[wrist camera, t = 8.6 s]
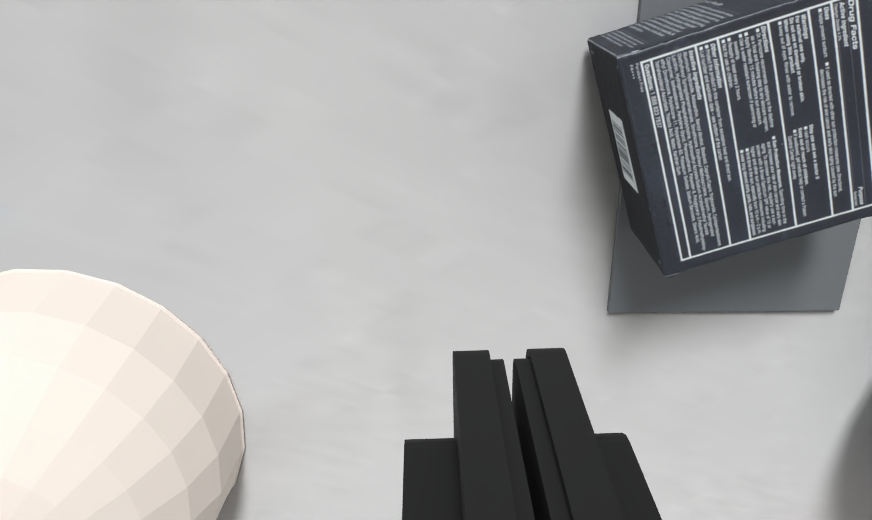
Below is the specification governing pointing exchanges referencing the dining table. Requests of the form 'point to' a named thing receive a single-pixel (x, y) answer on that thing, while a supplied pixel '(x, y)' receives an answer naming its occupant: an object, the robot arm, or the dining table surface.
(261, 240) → the dining table surface
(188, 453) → the kettle
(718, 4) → the small box
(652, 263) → the mat
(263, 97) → the dining table surface
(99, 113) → the dining table surface
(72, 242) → the dining table surface
